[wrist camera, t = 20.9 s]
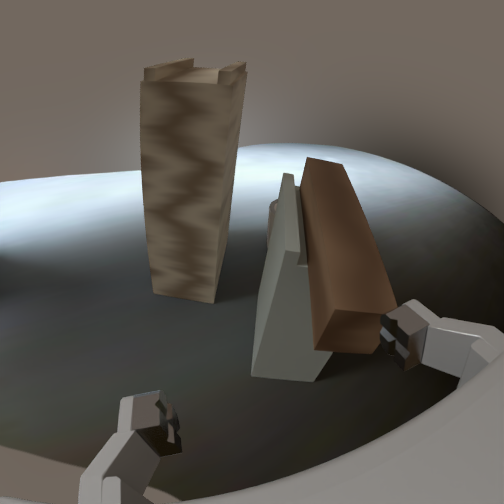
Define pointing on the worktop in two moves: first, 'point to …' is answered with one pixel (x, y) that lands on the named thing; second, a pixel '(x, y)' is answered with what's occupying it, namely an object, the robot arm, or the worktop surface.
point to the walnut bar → (341, 263)
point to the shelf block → (189, 172)
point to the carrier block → (286, 299)
